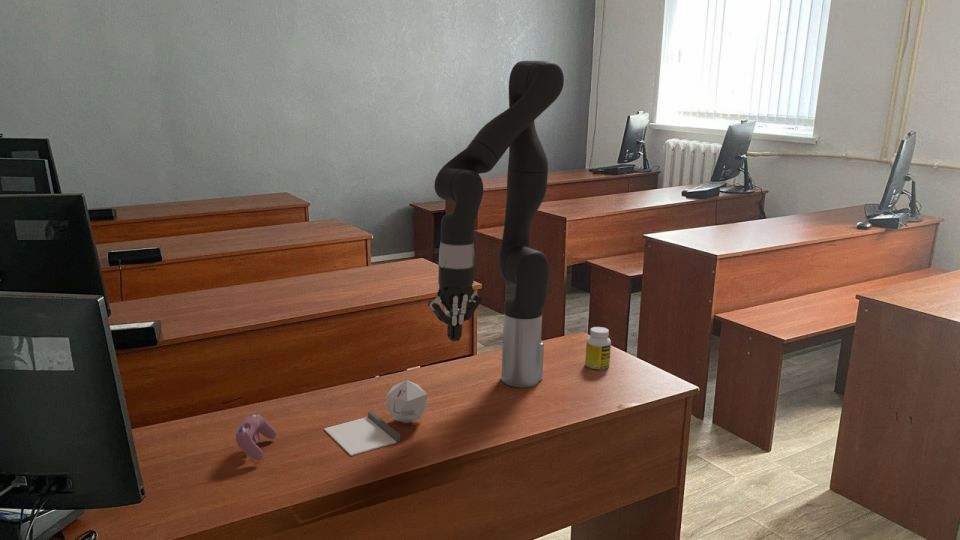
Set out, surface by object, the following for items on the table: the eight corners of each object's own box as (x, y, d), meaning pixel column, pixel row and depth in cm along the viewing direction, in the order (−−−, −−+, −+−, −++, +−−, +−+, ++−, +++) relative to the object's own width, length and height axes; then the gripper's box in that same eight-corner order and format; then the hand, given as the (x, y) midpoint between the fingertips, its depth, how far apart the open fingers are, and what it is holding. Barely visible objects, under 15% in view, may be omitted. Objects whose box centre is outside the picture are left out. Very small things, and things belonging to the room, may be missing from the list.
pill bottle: (603, 376, 182) (606, 335, 179) (580, 371, 185) (583, 330, 182) (612, 369, 187) (615, 328, 184) (590, 363, 190) (593, 324, 187)
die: (378, 427, 153) (377, 383, 150) (401, 410, 160) (401, 369, 158) (411, 436, 149) (411, 391, 146) (434, 419, 156) (434, 376, 154)
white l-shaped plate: (371, 417, 157) (371, 410, 156) (400, 441, 147) (400, 434, 146) (324, 429, 151) (324, 423, 150) (351, 456, 140) (350, 449, 140)
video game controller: (257, 440, 147) (246, 410, 145) (278, 436, 146) (267, 405, 145) (240, 466, 137) (228, 433, 135) (263, 460, 137) (250, 428, 135)
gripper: (472, 256, 159) (469, 330, 164) (420, 262, 152) (419, 340, 156) (492, 263, 154) (488, 340, 158) (439, 270, 146) (437, 350, 150)
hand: (454, 340), depth 157 cm, fingers closed
